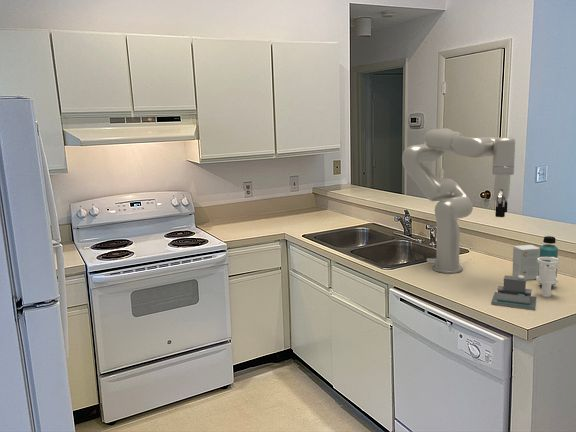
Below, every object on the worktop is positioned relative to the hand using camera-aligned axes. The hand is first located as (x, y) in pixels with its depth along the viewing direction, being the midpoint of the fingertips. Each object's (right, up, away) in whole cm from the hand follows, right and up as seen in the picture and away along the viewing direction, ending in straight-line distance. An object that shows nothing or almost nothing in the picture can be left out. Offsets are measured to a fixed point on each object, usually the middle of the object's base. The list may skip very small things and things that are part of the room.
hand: (501, 214), depth 190 cm
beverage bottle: (+18, -28, 0) cm, 33 cm away
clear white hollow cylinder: (+13, -30, -8) cm, 34 cm away
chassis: (-1, -32, -13) cm, 34 cm away
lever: (-1, -31, -13) cm, 33 cm away
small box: (+15, -26, +12) cm, 32 cm away
